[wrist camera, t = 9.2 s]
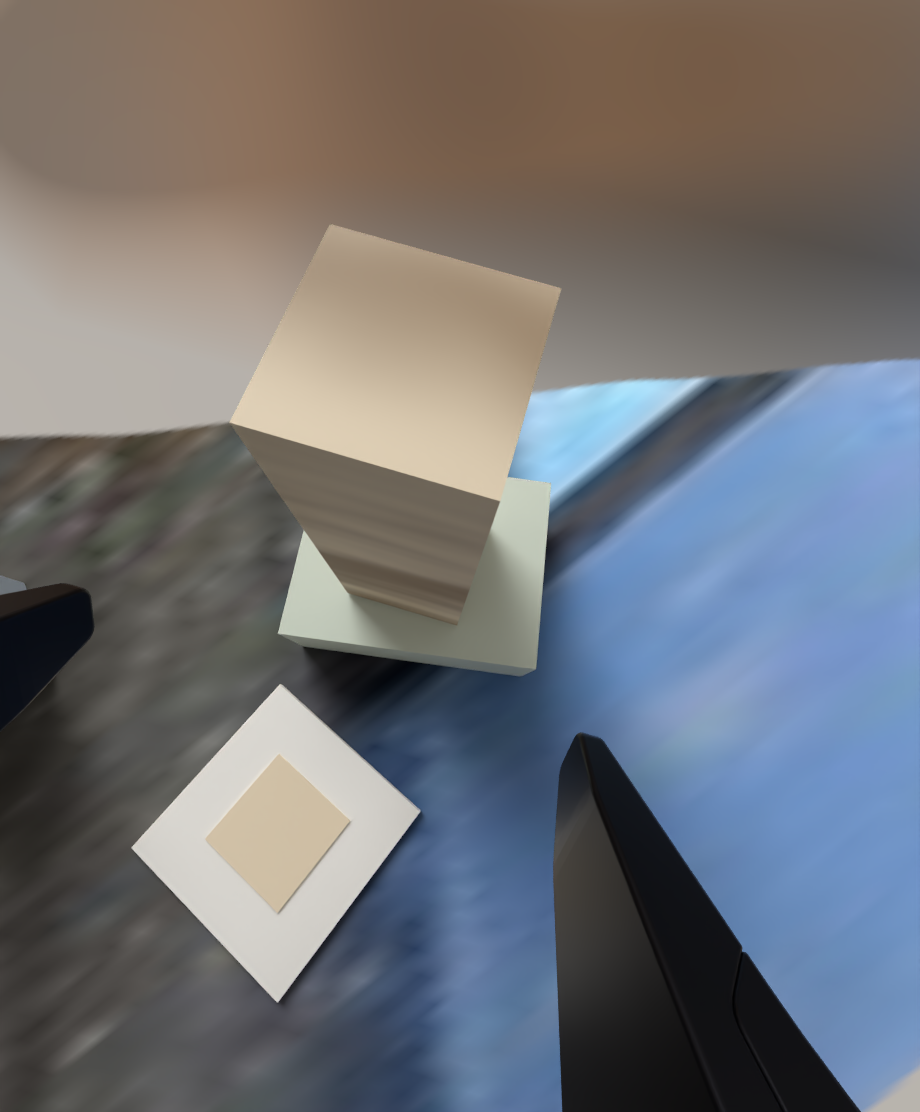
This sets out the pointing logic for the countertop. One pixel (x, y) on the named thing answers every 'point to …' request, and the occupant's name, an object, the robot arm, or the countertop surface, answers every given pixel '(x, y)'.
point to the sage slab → (474, 643)
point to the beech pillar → (397, 412)
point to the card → (277, 838)
